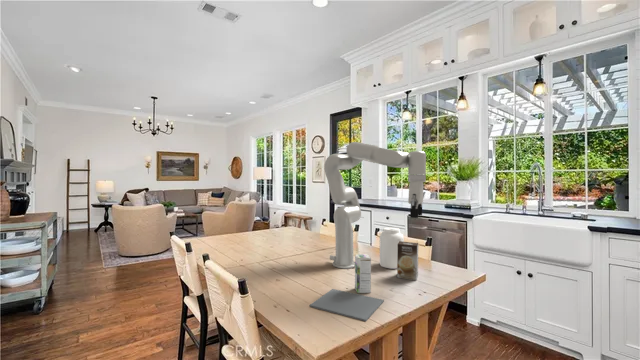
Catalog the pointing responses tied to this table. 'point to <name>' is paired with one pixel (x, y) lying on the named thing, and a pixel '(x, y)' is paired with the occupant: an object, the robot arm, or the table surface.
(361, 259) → the syrup box
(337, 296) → the mat
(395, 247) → the white bottle
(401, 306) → the table surface
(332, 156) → the robot arm
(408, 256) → the coffee box
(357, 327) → the table surface
